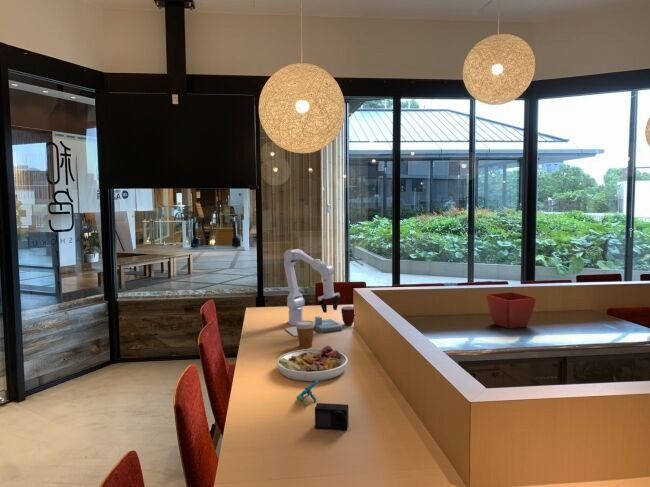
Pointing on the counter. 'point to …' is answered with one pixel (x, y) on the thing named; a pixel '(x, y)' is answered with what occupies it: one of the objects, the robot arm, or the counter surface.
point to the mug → (348, 315)
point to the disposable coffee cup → (305, 333)
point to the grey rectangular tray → (328, 329)
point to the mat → (294, 331)
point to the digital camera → (331, 416)
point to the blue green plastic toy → (308, 391)
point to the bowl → (312, 364)
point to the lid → (325, 323)
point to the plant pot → (510, 309)
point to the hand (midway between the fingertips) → (330, 311)
